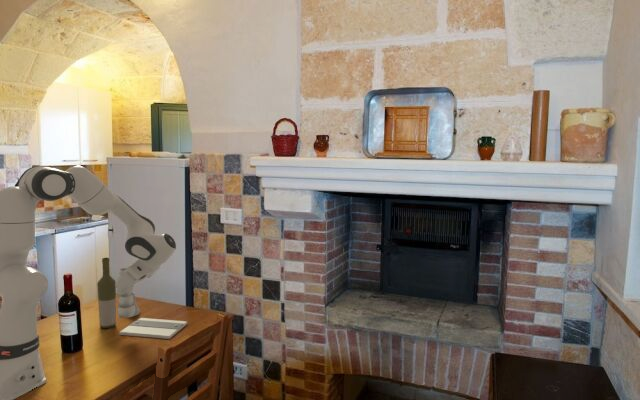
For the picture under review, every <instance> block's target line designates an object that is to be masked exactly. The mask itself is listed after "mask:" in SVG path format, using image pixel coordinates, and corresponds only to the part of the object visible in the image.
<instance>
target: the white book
mask: <svg viewBox="0 0 640 400" xmlns="http://www.w3.org/2000/svg"><path fill="white" fill-rule="evenodd" d="M186 325H188V321H187V320H186V321H184V320H175V319H174V320H173V319H172V320H171V319H162V318H161V319H160V318H159V319H158V318H148V317H140V318H138V319H136V320H134V321H132V322H131V323H130V324H129V325H128V326H126V327H125V328H123V329H122V330H120V331H119V335H120V336H121V335H122V336H133V337H145V338H156V339H167V340H170V339H171V338H172V337H173V336H175V335H176V334H177V333H178V332H180V331H181V330H182V329H183V328H184V327H186Z"/></svg>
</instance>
